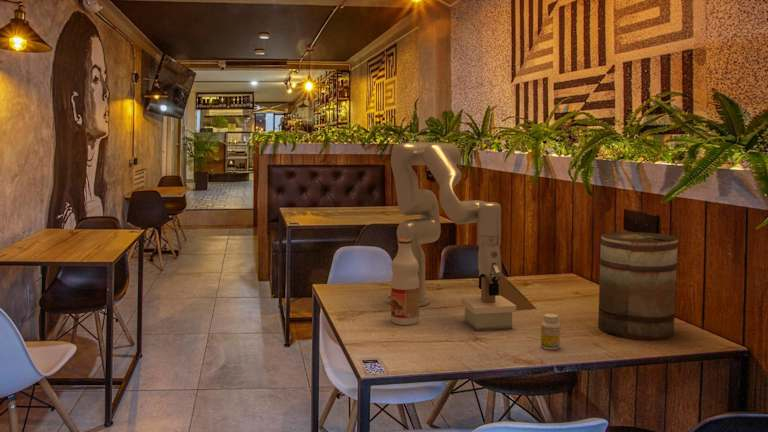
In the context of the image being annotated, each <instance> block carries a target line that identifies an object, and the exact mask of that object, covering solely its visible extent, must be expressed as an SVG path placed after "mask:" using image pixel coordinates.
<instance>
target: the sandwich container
mask: <svg viewBox="0 0 768 432" xmlns="http://www.w3.org/2000/svg"><path fill="white" fill-rule="evenodd" d="M499 278H500V279H499V295H495V296H502V297H504V298H505V299H507V300H508V301H510V302H511V303H513V304H514V305H516V311H526V310H528V311H529V310H537V309H538V308H537V307H536V306H535V305H534V304H533V303H532V302H531V301H530V300H528V298H527V297H526V296H525V294H523V293H522V292H521V291H520V290H519V289H518V288H517V287H516V286H515V285H514V284H513V283H512V282H511V281H510V280H509V279H508V278H507V277H506V276H505V275H504V273H503V272H501V275H500V276H499Z"/></svg>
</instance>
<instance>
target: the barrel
mask: <svg viewBox="0 0 768 432" xmlns="http://www.w3.org/2000/svg"><path fill="white" fill-rule="evenodd" d="M678 243H679V238H678V237H676V236H673V235H670V234H661V233H655V232H640V231H639V232H636V231H632V232H631V231H617V232H606V233H603V234H601V235H600V255H599V257H600V259H599V287H598V288H599V290H598V294H599V295H598V317H597V318H598V320H597V321H598V323H597V326H598V330H600V331H601V332H602V333H604V334H606V335H609V336H613V337H615V338H620V339H625V340H633V341H646V342H649V341H651V342H653V341H654V342H655V341H663V340H668V339H670V338H672V337H674V333H675V331H674V330H675V311H676V310H675V309H676V292H677V291H676V289H677V268H678V267H677V266H678V265H677V264H678V247H679V246H678Z"/></svg>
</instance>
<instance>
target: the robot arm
mask: <svg viewBox="0 0 768 432" xmlns="http://www.w3.org/2000/svg"><path fill="white" fill-rule="evenodd" d="M460 161H461V152H460V150H459V148H458V147H457V145H455V144H453V143H452V142H451V143H450V142H434V141H433V142H432V141H431V142H430V141H406V142H402V143H399V144H397V145H396V146H395V147H394V148H393V150H392V152H391V154H390V166H391V170H392V173H393V176H394V181H395V182H394V184H395V185H394V186H395V192H396V201H397V208H398V211H399V213H400V214H401V215H402V216H406V217H407V216H411V217H412V216H419V218H412V219H405V220H403V221H401V222H400V223H399V224H398V226H397V229H396V237H397V240H398V239H412V245H411V249H412V253H413V255H414V257H415V258H416V260H417V261H418V265H419V268H418V272H417V276H418V279H419V307H424V306H427V305H429V304H430V299H428V298H427V297H426V255H425V252H424V249H423V247H422V246H421V245H424V244H429V243H435V242H436V241H438V240H439V238H440V237H441V230H442V229H441V219H440V217H441V216H440V210H439V208H440V207H441V208H442V210H443V211H444V213H445V214H446V216H447V217H448V218H449V220H450V221H451V222H453V223H454V224H456V225H466V224H476V223H477V228H476V229H477V230H476V231H477V233H476V234H477V235H476V237H477V238H476V241H477V242H476V245H477V246H478V256H477V257H478V259H477V269H478V289H479V290H481V277H489V281H490V283H489V295H490V296H495V295H499V279H500V278H499V276H500V275H501V273H502V256H501V255H502V253H501V248H500V246H501V243H502V241H501V239H502V234H501V233H502V230H501V229H502V219H501V218H502V207H501V204H500V203H498V202H493V201H492V202H491V201H484V200H479V199H475V200H474V199H473V200H460V199H459V198H458V197H457V195H456V193H455V191H454V189H453V188H454V187H456V185H458V184H459V182H461V180H462V172H461V171H460V169H459V168H458V164H459V163H460ZM412 166H426V167H427V168H428V170H429V172H430V173H431V174H432V176H433V178H434V179H435V180H436V182H437V184H438V186H439V189H438V198H439V202H438V199H437V196H436V194H435V192H433V191H432V190H430V189H425V188H424V189H423V188H422V189H420V187H419V179H418V175H417V173H416V172H415V170H414V169H413V168H412ZM439 204H440V207H439ZM492 277H493V278H492ZM386 298H387V299H388V300H389V299H391V292H388V293H387V294H386Z"/></svg>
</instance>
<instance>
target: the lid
mask: <svg viewBox="0 0 768 432" xmlns="http://www.w3.org/2000/svg"><path fill="white" fill-rule="evenodd" d="M492 278H493V277H492ZM489 283H490V281H489V277H488V276H487V277H481V289H480V293H481V294H480V296H467V297H465V296H464V297H460V298H461V300H460V302H461V305H463V306H464V308H465V307H466V308H467V309H469V310H470V311H471V312H472V313H474V314H487V313H505V312H512V313H517V310H516V305H514V304H513V303H511V302H510V301H508V300H507V299H505V298H504V297H502V296H490V295H489Z"/></svg>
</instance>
